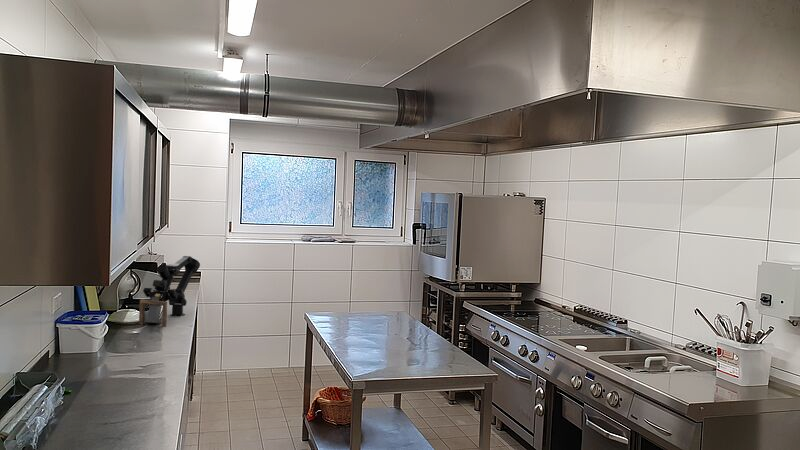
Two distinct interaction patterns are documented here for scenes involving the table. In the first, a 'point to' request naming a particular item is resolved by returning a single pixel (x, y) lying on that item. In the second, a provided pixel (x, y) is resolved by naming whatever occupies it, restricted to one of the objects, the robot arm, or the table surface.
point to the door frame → (142, 303)
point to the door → (146, 315)
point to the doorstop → (154, 311)
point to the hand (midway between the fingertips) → (154, 305)
